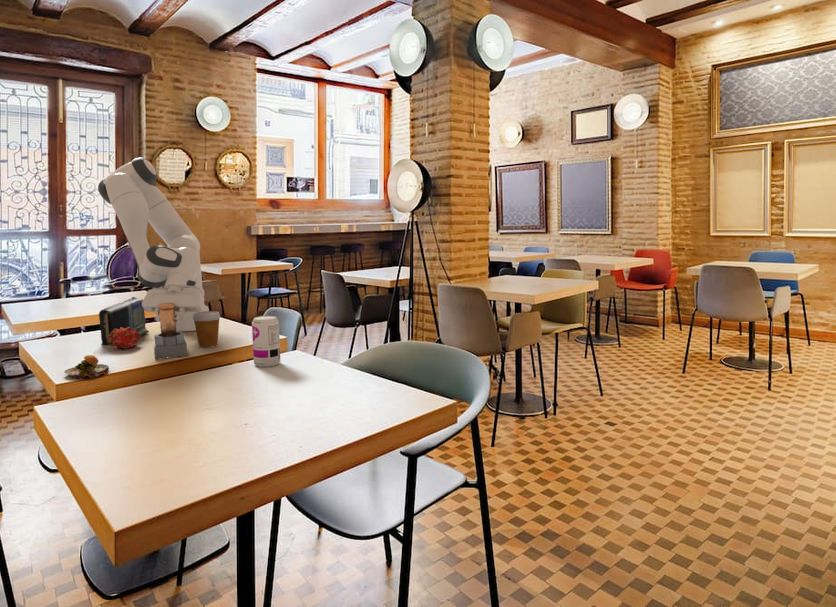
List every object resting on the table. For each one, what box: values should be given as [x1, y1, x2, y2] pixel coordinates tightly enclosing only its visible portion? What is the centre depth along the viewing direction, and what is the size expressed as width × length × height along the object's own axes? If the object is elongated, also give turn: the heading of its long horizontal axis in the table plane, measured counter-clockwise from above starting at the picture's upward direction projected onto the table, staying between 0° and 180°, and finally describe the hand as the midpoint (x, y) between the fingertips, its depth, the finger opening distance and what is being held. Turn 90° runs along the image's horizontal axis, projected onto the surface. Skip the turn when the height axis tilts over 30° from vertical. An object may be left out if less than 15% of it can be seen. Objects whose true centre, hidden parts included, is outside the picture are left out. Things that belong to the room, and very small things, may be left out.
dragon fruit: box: [108, 327, 142, 350], centre depth 211 cm, size 8×8×12 cm
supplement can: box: [251, 315, 281, 368], centre depth 187 cm, size 8×8×15 cm
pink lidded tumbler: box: [158, 303, 178, 337], centre depth 200 cm, size 5×5×12 cm
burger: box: [64, 351, 110, 380], centre depth 177 cm, size 12×12×8 cm
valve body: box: [153, 331, 189, 360], centre depth 203 cm, size 16×10×7 cm, turn 25°
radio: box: [98, 296, 150, 347], centre depth 225 cm, size 23×9×15 cm, turn 164°
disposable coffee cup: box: [192, 310, 221, 348], centre depth 213 cm, size 10×10×12 cm
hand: (167, 320), depth 199 cm, fingers closed on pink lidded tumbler, 5 cm apart
